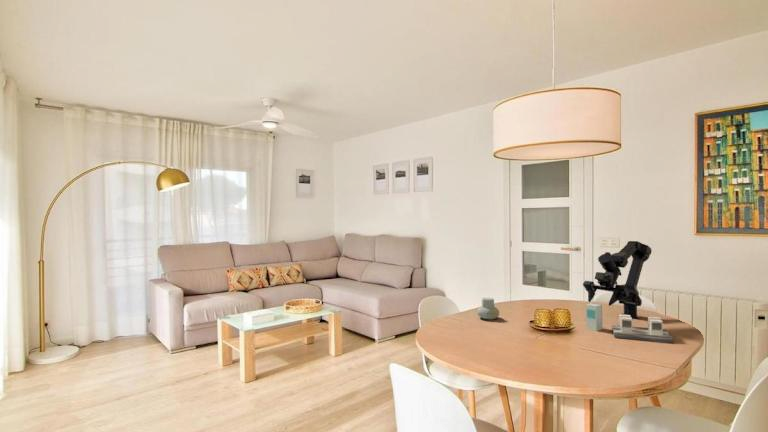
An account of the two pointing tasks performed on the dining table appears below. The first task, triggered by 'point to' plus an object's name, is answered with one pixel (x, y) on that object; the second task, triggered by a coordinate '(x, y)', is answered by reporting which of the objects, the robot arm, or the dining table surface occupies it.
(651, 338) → the rail board
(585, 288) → the robot arm
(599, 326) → the block
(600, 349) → the dining table surface
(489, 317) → the air freshener
